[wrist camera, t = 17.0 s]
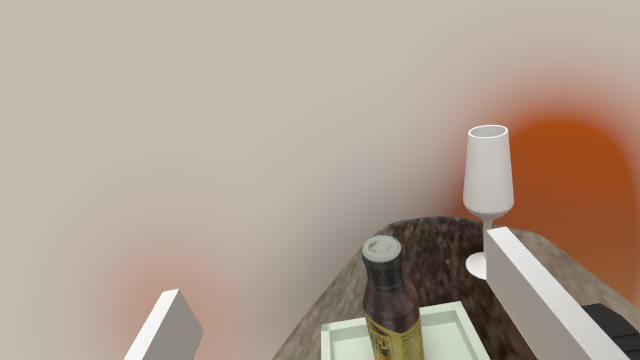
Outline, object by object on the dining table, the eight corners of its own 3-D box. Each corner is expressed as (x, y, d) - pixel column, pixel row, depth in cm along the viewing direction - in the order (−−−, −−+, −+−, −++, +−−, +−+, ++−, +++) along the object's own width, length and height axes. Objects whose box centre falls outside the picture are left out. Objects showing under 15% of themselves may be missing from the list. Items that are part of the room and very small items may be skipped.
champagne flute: (517, 260, 52) (524, 123, 42) (502, 286, 49) (506, 143, 38) (475, 247, 57) (472, 121, 47) (458, 270, 53) (451, 139, 43)
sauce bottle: (369, 350, 43) (340, 236, 35) (411, 335, 44) (393, 218, 35) (389, 399, 37) (359, 275, 29) (437, 380, 38) (422, 253, 29)
